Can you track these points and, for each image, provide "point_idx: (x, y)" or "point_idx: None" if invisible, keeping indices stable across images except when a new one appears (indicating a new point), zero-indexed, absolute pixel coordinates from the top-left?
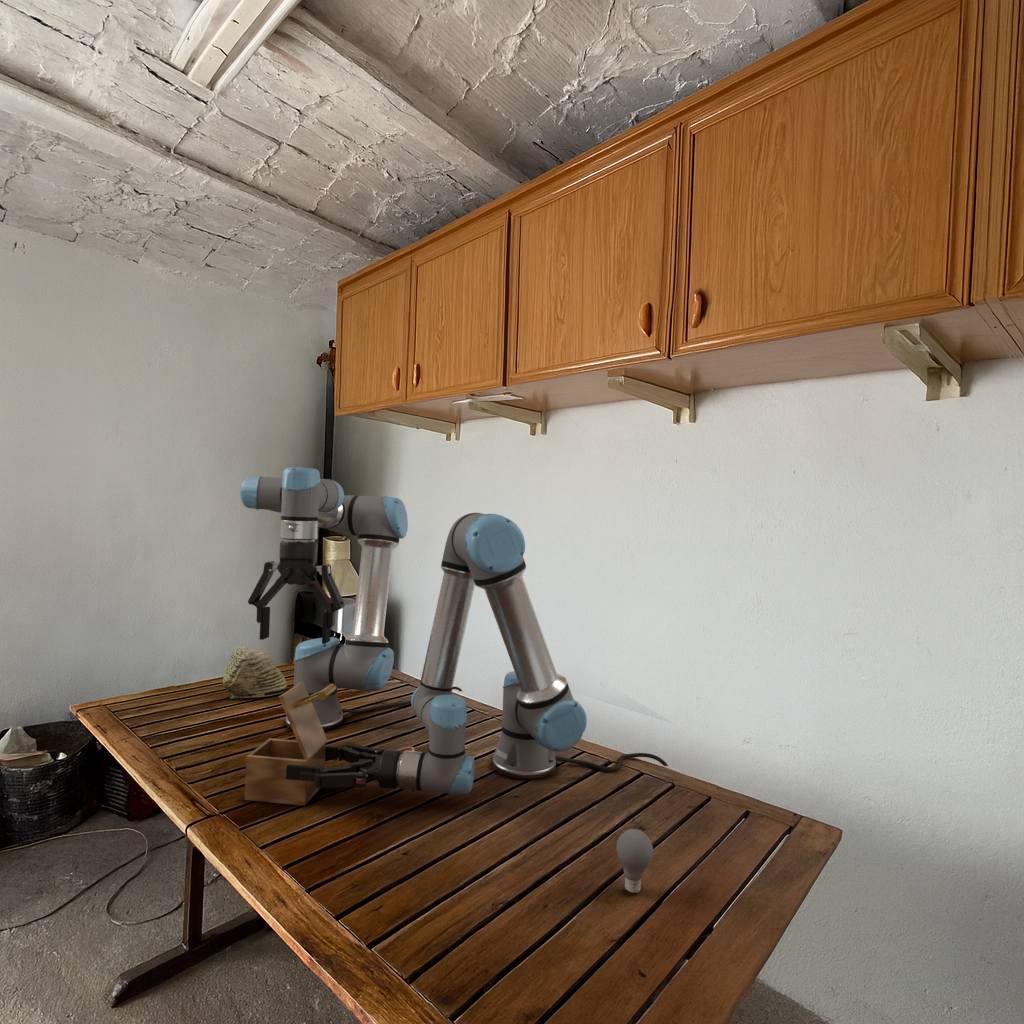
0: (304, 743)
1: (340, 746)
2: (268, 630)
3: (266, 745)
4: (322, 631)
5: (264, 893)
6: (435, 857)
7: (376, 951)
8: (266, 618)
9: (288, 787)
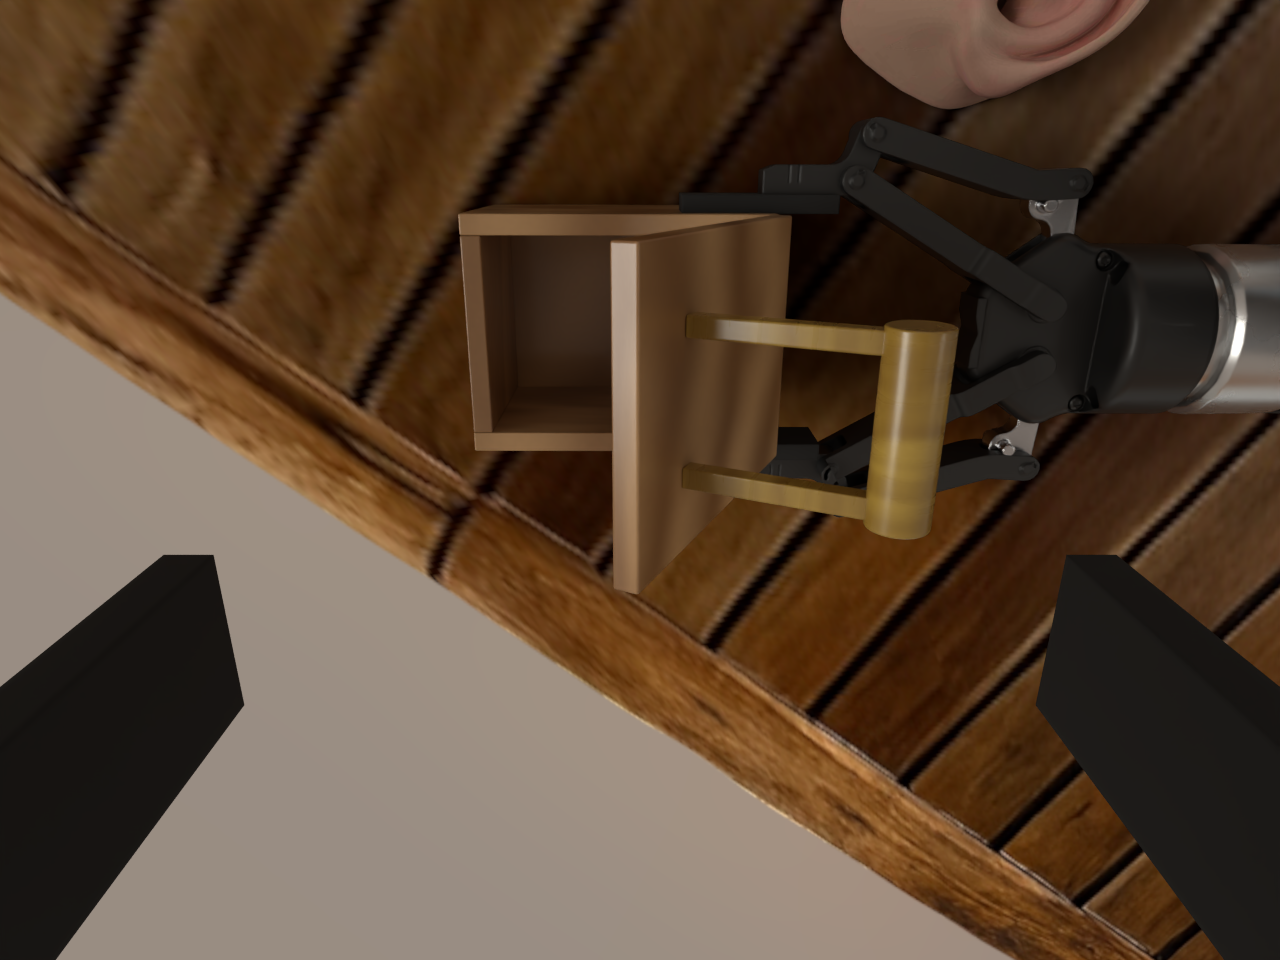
0: (756, 460)
1: (849, 183)
2: (165, 629)
3: (485, 286)
4: (1125, 822)
5: (804, 803)
6: (1224, 614)
7: (1093, 911)
8: (43, 849)
9: None
